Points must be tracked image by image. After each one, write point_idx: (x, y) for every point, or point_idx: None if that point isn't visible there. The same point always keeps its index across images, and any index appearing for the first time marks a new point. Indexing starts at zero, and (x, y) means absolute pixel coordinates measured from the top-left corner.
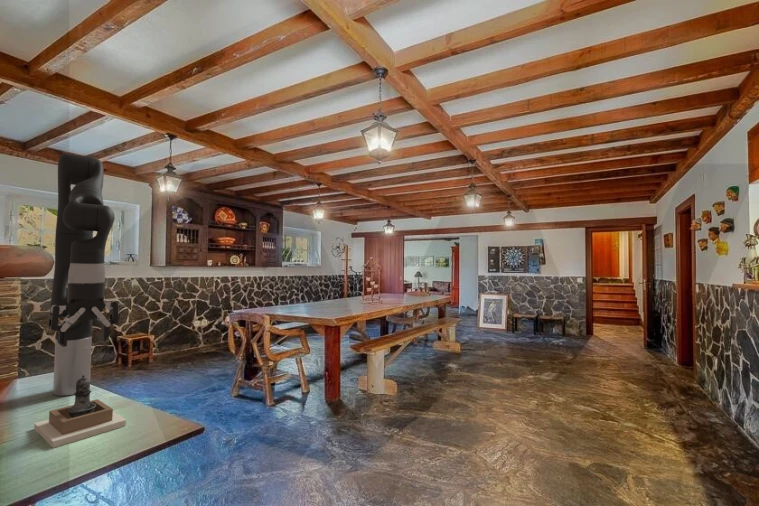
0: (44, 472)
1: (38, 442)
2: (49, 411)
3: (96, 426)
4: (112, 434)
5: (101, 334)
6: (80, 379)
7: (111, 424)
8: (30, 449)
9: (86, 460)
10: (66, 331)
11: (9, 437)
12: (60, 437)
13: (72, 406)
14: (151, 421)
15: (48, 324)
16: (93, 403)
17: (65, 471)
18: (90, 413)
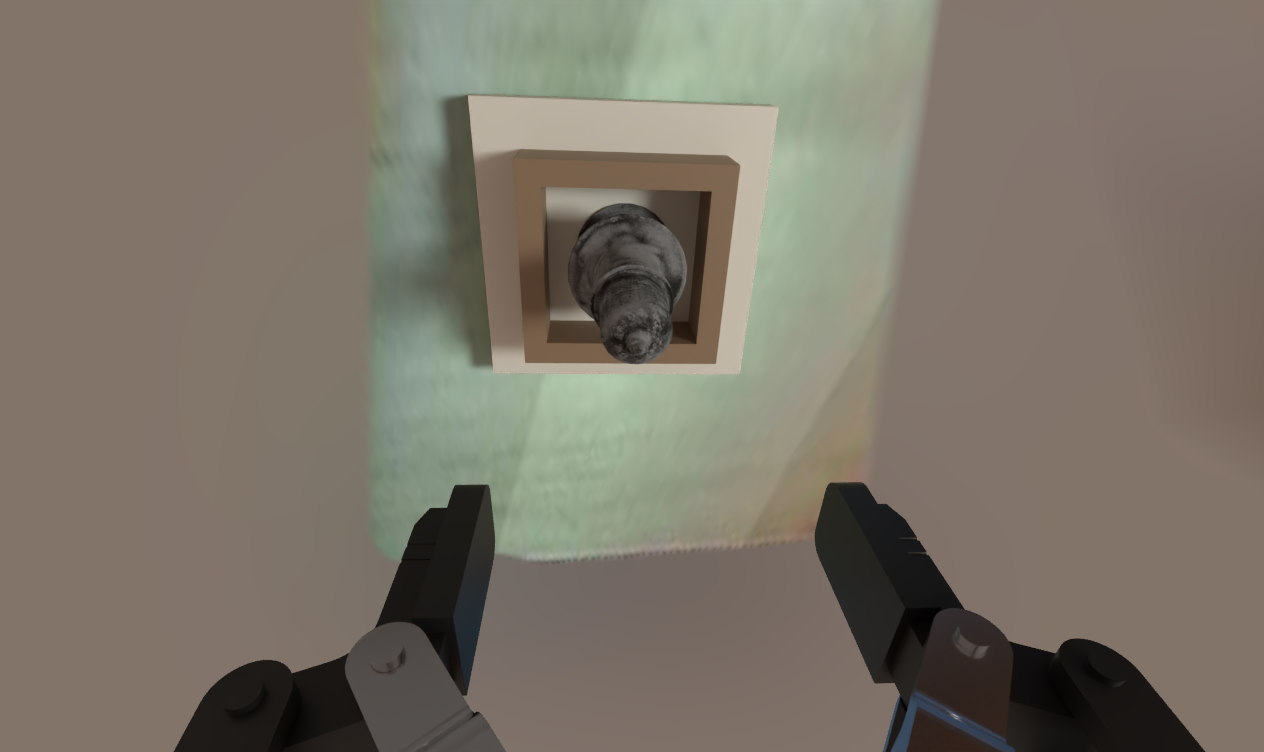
0: None
1: (467, 272)
2: (513, 159)
3: None
4: (669, 398)
5: (852, 538)
6: (621, 342)
7: (686, 373)
8: (438, 315)
9: (549, 505)
10: (462, 672)
11: (379, 114)
12: (520, 358)
13: (593, 250)
14: (808, 393)
15: (180, 746)
16: (682, 264)
17: (494, 522)
18: None
